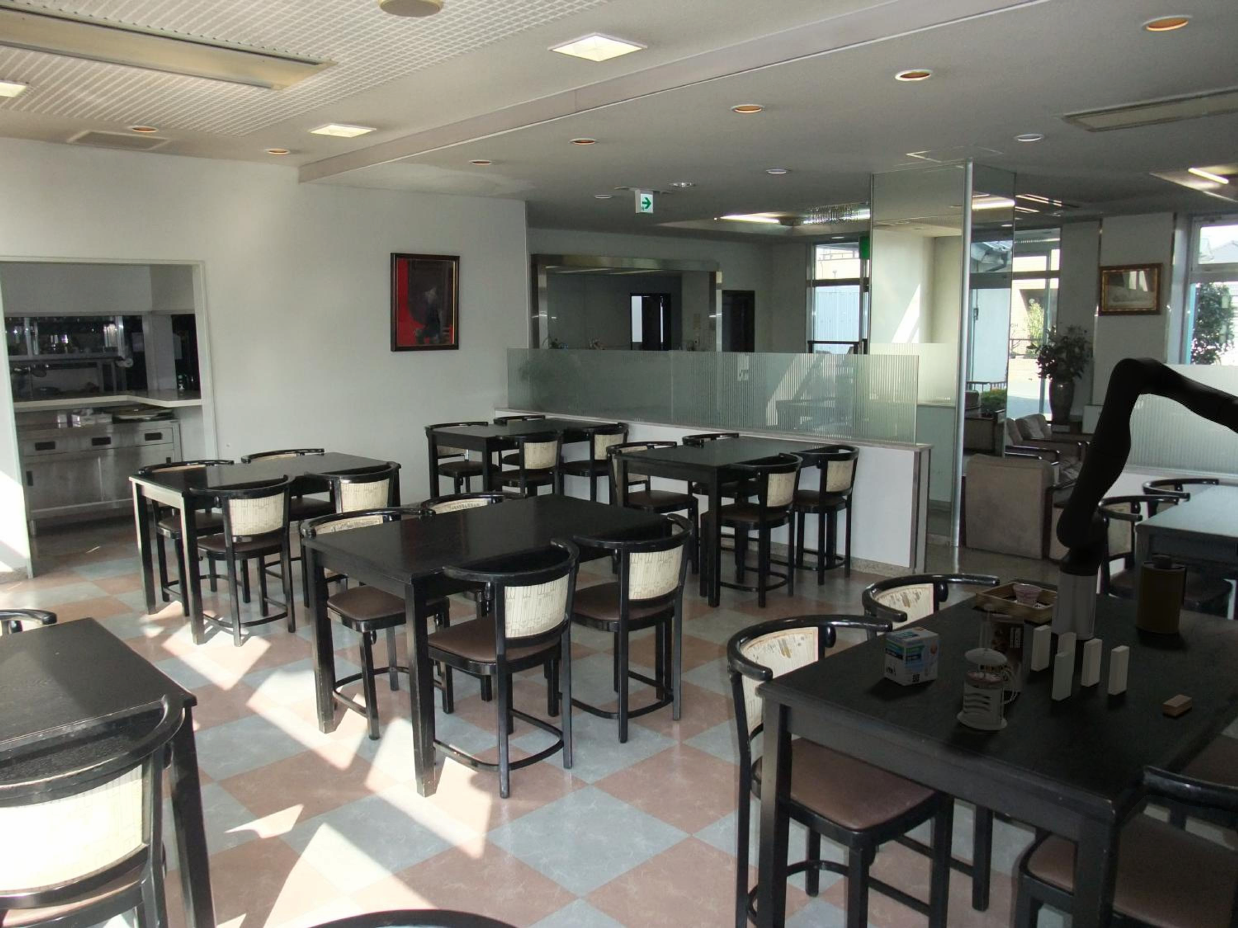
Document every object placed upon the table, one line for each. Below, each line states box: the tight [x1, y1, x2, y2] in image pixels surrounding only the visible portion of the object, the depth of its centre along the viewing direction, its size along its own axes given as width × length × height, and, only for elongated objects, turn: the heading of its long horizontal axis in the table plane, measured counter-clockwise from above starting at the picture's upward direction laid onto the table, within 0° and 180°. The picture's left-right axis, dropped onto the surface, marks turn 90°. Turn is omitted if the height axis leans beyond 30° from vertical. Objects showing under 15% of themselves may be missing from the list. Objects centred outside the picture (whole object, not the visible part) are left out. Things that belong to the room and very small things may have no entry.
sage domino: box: [1051, 650, 1075, 702], centre depth 205 cm, size 2×5×10 cm, turn 128°
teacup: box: [1013, 583, 1046, 608], centre depth 269 cm, size 12×12×6 cm
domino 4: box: [1107, 645, 1130, 696], centre depth 208 cm, size 2×5×10 cm, turn 127°
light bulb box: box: [884, 626, 940, 686], centre depth 216 cm, size 11×7×11 cm, turn 117°
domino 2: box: [1056, 631, 1077, 675], centre depth 217 cm, size 2×5×10 cm, turn 127°
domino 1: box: [1030, 624, 1052, 672], centre depth 222 cm, size 2×5×10 cm, turn 127°
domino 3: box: [1080, 638, 1103, 687], centre depth 212 cm, size 2×5×10 cm, turn 128°
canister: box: [1134, 554, 1188, 635], centre depth 250 cm, size 11×10×20 cm
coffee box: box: [977, 611, 1026, 693], centre depth 211 cm, size 9×6×16 cm
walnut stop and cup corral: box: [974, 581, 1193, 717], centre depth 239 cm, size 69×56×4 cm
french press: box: [956, 604, 1019, 731], centre depth 191 cm, size 10×12×25 cm
